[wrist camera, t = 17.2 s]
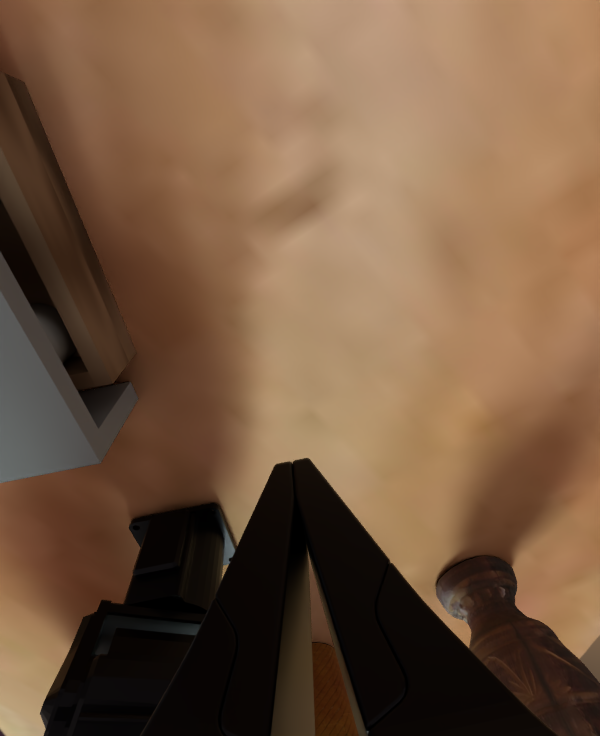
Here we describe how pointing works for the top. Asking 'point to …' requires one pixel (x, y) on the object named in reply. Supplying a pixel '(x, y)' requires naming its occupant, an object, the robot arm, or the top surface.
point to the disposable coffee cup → (330, 695)
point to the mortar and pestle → (521, 647)
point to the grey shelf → (47, 398)
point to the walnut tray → (54, 249)
